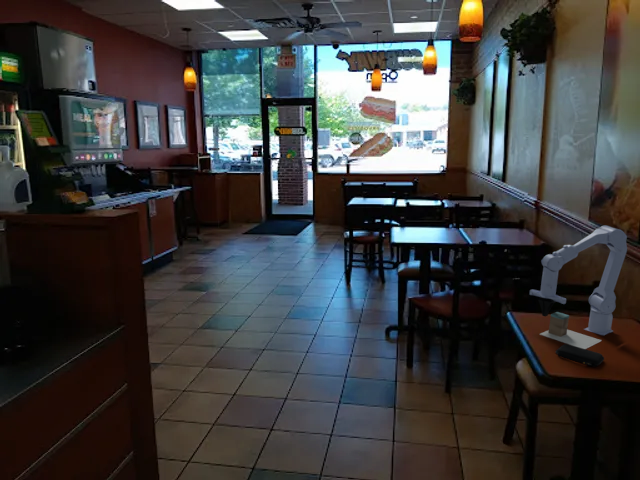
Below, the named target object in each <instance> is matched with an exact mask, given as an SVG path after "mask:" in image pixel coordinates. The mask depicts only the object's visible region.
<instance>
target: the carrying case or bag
mask: <svg viewBox="0 0 640 480" xmlns="http://www.w3.org/2000/svg"><path fill="white" fill-rule="evenodd" d="M555 354H556V355H557V356H558V357H560V358H562V359H566V360H569V361H572V362H576V363H578V364H583V365H586V366H590V367H594V368H596V367H598V366H600V365H601V364H602V363H603V362H604V360H605V357H604V356H603V354H602V353H599V352H597V351H593V350H589V349H583V348H579V347H576V346H572V345H569V344H567V343H564V344H563V345H560V347H558V348H556V350H555Z"/></svg>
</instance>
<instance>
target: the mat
mask: <svg viewBox="0 0 640 480" xmlns="http://www.w3.org/2000/svg"><path fill="white" fill-rule="evenodd" d="M548 332H549V329H548V330H545V331H544V332H541V333H539V335H540V336H543V337H546V338H549V339H552V340H555V341H557V342H561V343H564V344H568V345H572V346H576V347H579V348H583V349H586V350H588V348H590V347H592V346H595V345H596V344H598V343H600V342H602V339H598V338H595V337H593V336H589V335H587V334H584V333H583V334H582V333H580V332H576V331H573V330H570V329H568V328H567V334H566V335H564V336H561V337H559V336H556V335H553V334H550V333H548Z"/></svg>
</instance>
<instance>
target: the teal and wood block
mask: <svg viewBox="0 0 640 480" xmlns="http://www.w3.org/2000/svg"><path fill="white" fill-rule="evenodd" d="M569 319H570V315H569V314H565V313H563V312H559V311H556V312H553V313H551V314H550V319H549V325H548V330H549V332H548V333H550V334H553V335H556V336H559V337H561V336H564V335H566V334H567V329H568V326H569Z"/></svg>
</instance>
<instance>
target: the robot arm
mask: <svg viewBox="0 0 640 480" xmlns="http://www.w3.org/2000/svg"><path fill="white" fill-rule="evenodd" d="M627 238H628V235H627V234H626V233H625V232H624V231H623V230H622V229H620V228H619V229H618V228H615V227H612V226H610V225H602V226H600V227H597V228H596V229H595V230H594V231H593V232H592V233H590V234H588V235H587V236H585V237H584V238H582V239H580V241H578V242H576V243H575V244H573V245H572V244H564V245H562V247H561V248H560V249H558V250H556V251H553V252H552V254H551V253H549V254H546V255H545V256H543V258H542V259H541V261H540V262H541V265H542V266H543V268H542V276H541V283H540V284H541V285H540V290H537V289H530V290H529V295H530V296H535V297H537V298H538V297H539V298H538V300H537V301H538V304H539V306H540V310H541V316H543V317H548V315H549V312H550V311H551V309H552V307H553V306H554V304H555V303H556V302H557V303H560V304H561V305H562V304H563V305H565V304H566V303H567V298H565V297H563V296H559V295H558V294H556V292H557V285H558V278H559V271H560V270H562V267H563V266H564V265H565V264H567V263H568V262H570V261H572V260H575V258H577V257H578V255H579V253H580V252H582V251H585V250H586V249H588V248H590V247H593V246H594V245H596V244H604V245H605V246H607V247H608V248H609V255H608V257H607V261H606V264H605V266H604V270H603V273H602V275H601V279H600V282H599V285H598V286H597V287H596V288H594V289H593V292H592V294H591V295H589V297H588V303H589V305H590V312H589V320H588V327H586V328H583V330H585V331H588V332H591V333H594V334H597V335H600V336H605V335H608V334H610V333H613V332H614V330H612V324H613V317H614V316H613V312H614V311H615V309H616V305H617V304H616V300H617V297H616V294H615V292H614V291H615V288H616V285H617V282H618V279H619V275H620V273H621V269H622V268H623V264H624V261H625V258H626V254H627V252H628V245H627Z"/></svg>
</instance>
